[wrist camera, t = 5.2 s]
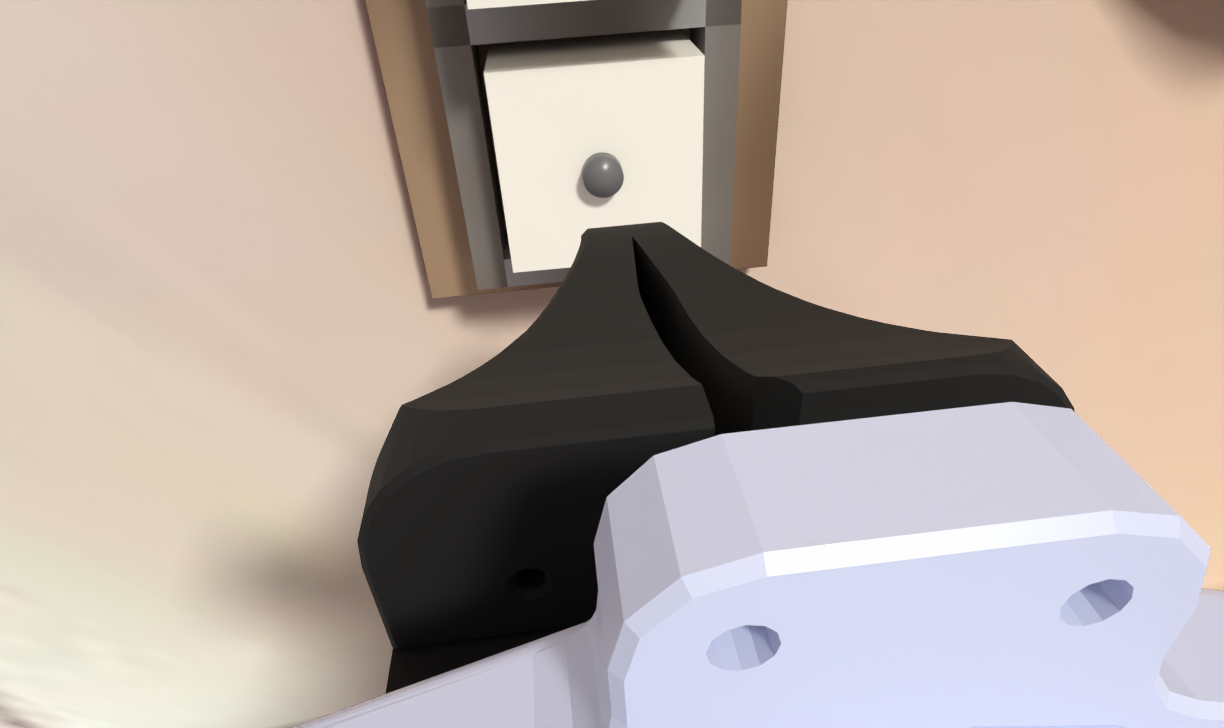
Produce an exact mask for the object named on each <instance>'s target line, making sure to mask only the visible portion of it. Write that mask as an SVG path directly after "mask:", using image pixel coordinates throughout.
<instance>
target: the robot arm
mask: <svg viewBox="0 0 1224 728" xmlns="http://www.w3.org/2000/svg"><path fill="white" fill-rule="evenodd" d="M357 542H358V547H359V553H360V559H361V564H362V568H363V571H364V574H365V576H366V579H367V581H368V584H369V587H370V589H371V592H372V595H373V597H374V600H375V602H376V605H377V608H378V610H379V613H380V615H381V618H382V621H383V623H384V626H385V628H386V631H387V634H388V636H389V639H390V642H391V644H392V647H393V652H392V658H391V664H390V670H389V677H388V683H387V689H386V694H384V695H381V696H379V697H376V698H373V699H370V700H368V701H365V702H362V703H359V704H356V705H354V706H351V707H348V708H345V709H343V710H340V711H337V712H334V713H331V714H329V715H326V716H323V717H320V718H317V719H315V720H312V721H309V722H306V723H304V724H301V725H298V726H295V727H292V728H1224V591H1220V590H1213V589H1206V588H1202V584H1203V580H1204V576H1205V573H1206V569H1207V564H1208V559H1209V555H1210V550H1211V548H1210V547H1209V546H1208V545H1207V544H1206V543H1205V542H1204V541H1203V539H1202V538H1201V537H1200V536H1199V535H1198V534H1197V533H1196V532H1195V531H1194V530H1193V529H1192V528H1191V527H1190V526H1189V525H1188V524H1187V523H1186V521H1185V520H1184V519H1183V518H1182V517H1181V516H1180V515H1179V514H1178V513H1177V512H1176V511H1175V510H1174V509H1173V508H1172V507H1171V506H1170V505H1169V504H1168V503H1167V502H1166V501H1165V500H1163V499H1162V498H1161V497H1160V496H1159V495H1158V494H1157V493H1156V492H1155V491H1154V490H1153V489H1152V488H1151V487H1150V486H1149V485H1148V484H1147V483H1146V482H1145V481H1144V480H1143V479H1142V478H1141V477H1140V476H1139V475H1138V474H1137V473H1136V472H1135V471H1134V470H1133V469H1132V468H1131V467H1130V466H1129V465H1128V464H1127V463H1126V462H1125V461H1124V460H1123V459H1122V458H1121V457H1120V456H1119V455H1118V454H1117V453H1116V452H1115V451H1114V450H1113V449H1112V448H1111V447H1110V446H1108V445H1107V444H1106V443H1105V442H1104V441H1103V440H1102V439H1101V438H1100V437H1099V436H1098V435H1097V434H1096V433H1095V432H1094V431H1093V430H1092V429H1091V428H1090V427H1089V426H1088V425H1087V424H1086V423H1085V422H1084V421H1083V420H1082V419H1081V418H1080V417H1079V416H1078V415H1077V414H1076V413H1075V412H1074V407H1073V406H1072V404H1071V402H1070V401H1069V399H1068V397H1067V396H1066V394H1065V392H1064V391H1063V389H1062V388H1061V387H1060V386H1059V385H1058V384H1057V383H1056V382H1055V381H1054V380H1053V379H1052V378H1051V377H1050V376H1049V375H1048V374H1047V373H1046V372H1045V371H1044V370H1043V369H1042V368H1041V367H1039V366H1038V365H1037V364H1036V363H1035V362H1034V361H1033V360H1032V359H1031V358H1030V357H1029V356H1028V355H1027V354H1026V353H1025V352H1024V351H1023V350H1022V349H1021V348H1020V347H1019V346H1018V345H1017V344H1015V343H1014V342H1013V341H1012V340H1008V339H998V338H988V337H978V336H968V335H958V334H948V333H938V332H931V331H924V330H919V329H913V328H908V327H902V326H897V325H891V324H886V323H881V322H877V321H872V320H868V319H864V318H859V317H856V316H852V315H849V314H845V313H842V312H838V311H835V310H831V309H828V308H824V307H821V306H818V305H815V304H812V303H809V302H807V301H804V300H801V299H799V298H796V297H794V296H791V295H789V294H786V293H784V292H781V291H779V290H776V289H774V288H772V287H770V286H768V285H765V284H763V283H761V282H759V281H757V280H755V279H754V278H752V277H750V276H748V275H746V274H744V273H742V272H740V271H738V270H737V269H735V268H733V267H731V266H730V265H728V264H726V263H725V262H723V261H721V260H720V259H718V258H716V257H715V256H713V255H712V254H710V253H709V252H707V251H705V250H704V249H702V248H701V247H699V246H698V245H696V244H695V243H694V242H692V241H691V240H689V239H688V238H686V237H685V236H683V235H682V234H680V233H679V232H678V231H676V230H675V229H673V228H672V227H670V226H669V225H667V224H665V223H663V222H653V223H643V224H632V225H621V226H611V227H600V228H589V229H587V230H586V231H585V232H584V233H583V234H582V235H581V243H580V247H579V250H578V252H577V255H576V257H575V260H574V262H573V264H572V266H571V268H570V270H569V272H568V274H567V276H566V278H565V280H564V281H563V283H562V285H561V286H560V288H559V289H558V291H557V292H556V294H555V295H554V297H553V298H552V300H551V301H550V303H549V304H548V306H547V307H546V308H545V310H544V311H543V312H542V314H541V315H540V316H539V317H538V318H537V320H536V321H535V322H534V323H533V324H532V325H531V326H530V327H529V329H528V330H527V331H526V332H525V333H523V334H522V335H521V336H520V337H519V338H517V339H516V340H515V341H514V342H513V343H511V344H510V345H509V346H508V347H507V348H505V349H504V350H503V351H502V352H501V353H499V354H498V355H497V356H495V357H494V358H492V359H491V360H489V361H488V362H486V363H485V364H483V365H482V366H480V367H479V368H477V369H475V370H474V371H472V372H470V373H469V374H467V375H465V376H464V377H462V378H460V379H458V380H456V381H454V382H452V383H450V384H448V385H446V386H444V387H442V388H440V389H437V390H435V391H433V392H431V393H429V394H426V395H424V396H422V397H420V398H418V399H415V400H413V401H411V402H408V403H405V404H403V405H402V406H401V407H400V409H399V411H398V413H397V415H396V418H395V420H394V422H393V424H392V427H391V429H390V431H389V434H388V436H387V438H386V440H385V443H384V445H383V447H382V450H381V452H380V454H379V457H378V459H377V462H376V465H375V468H374V471H373V474H372V478H371V481H370V485H369V490H368V495H367V499H366V504H365V509H364V513H363V518H362V522H361V527H360V532H359V536H358V541H357Z"/></svg>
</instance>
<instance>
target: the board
mask: <svg viewBox="0 0 1224 728" xmlns="http://www.w3.org/2000/svg"><path fill="white" fill-rule="evenodd" d="M365 2H366V6H367V11H368V15H369V19H370V24H371V28H372V33H373V37H374V42H375V46H376V51H377V55H378V59H379V64H380V68H381V73H382V77H383V82H384V86H385V91H386V95H387V99H388V104H389V108H390V113H391V117H392V122H393V126H394V130H395V135H396V139H397V144H398V148H399V153H400V157H401V162H402V166H403V170H404V175H405V179H406V184H407V188H408V193H409V197H410V202H411V206H412V210H413V215H414V219H415V224H416V228H417V233H418V237H419V242H420V246H421V250H422V255H423V259H424V264H425V268H426V273H427V277H428V282H429V286H430V290H431V295H432V298H442V297H453V296H463V295H474V294H484V293H494V292H505V291H515V290H526V289H536V288H546V287H557V286H561V285H562V283H563V281H564V280H565V278H566V276H567V274H568V272H569V270H570V268H571V267H569V268H559V269H548V270H537V271H527V272H516V273H513V268H512V261H511V254H510V247H509V241H508V234H507V227H506V220H505V213H504V207H503V200H502V193H501V186H500V180H499V173H498V166H497V159H496V153H495V146H494V139H493V132H492V126H491V119H490V112H489V105H488V99H487V92H486V85H485V78H484V69H485V64H486V59H487V54H488V48H489V44H495V43H508V42H521V41H533V40H546V39H559V38H572V37H585V36H597V35H610V34H623V33H636V32H649V31H661V30H674V29H679V30H680V31H681V32H682V33H683V34H684V35H685V36H686V37H687V38H688V39H689V40H690V41H691V42H692V43H693V44H694V45H695V46H696V47H697V48H698V49H699V50H700V51H701V52H702V53H703V54H704V55H705V63H704V116H703V170H702V223H701V248H702V249H704V250H705V251H707V252H709V253H710V254H712V255H713V256H715V257H716V258H718V259H720V260H721V261H723V262H725V263H726V264H728V265H730V266H731V267H733V268H735V269H744V268H754V267H764V266H767V258H768V245H769V232H770V219H771V207H772V194H773V181H774V168H775V155H776V142H777V129H778V116H779V103H780V90H781V77H782V64H783V51H784V38H785V25H786V12H787V0H587V1H574V2H561V3H547V4H534V5H521V6H508V7H494V8H481V9H468V6H467V0H365Z"/></svg>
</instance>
